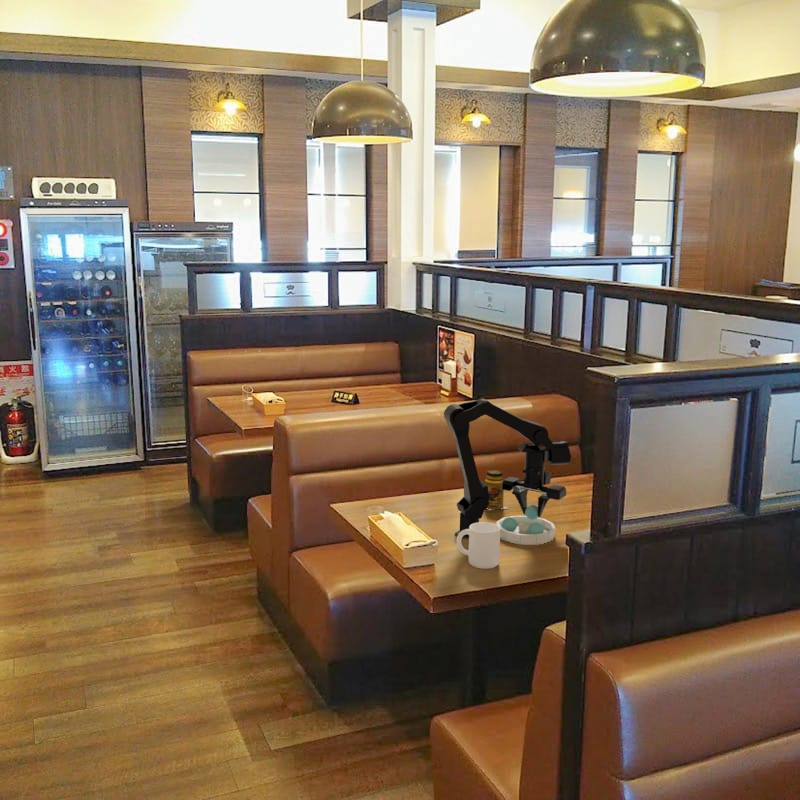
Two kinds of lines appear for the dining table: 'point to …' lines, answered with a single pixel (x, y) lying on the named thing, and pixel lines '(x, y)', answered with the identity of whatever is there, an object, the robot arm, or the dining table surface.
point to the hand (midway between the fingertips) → (532, 515)
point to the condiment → (495, 489)
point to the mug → (481, 544)
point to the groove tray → (527, 537)
